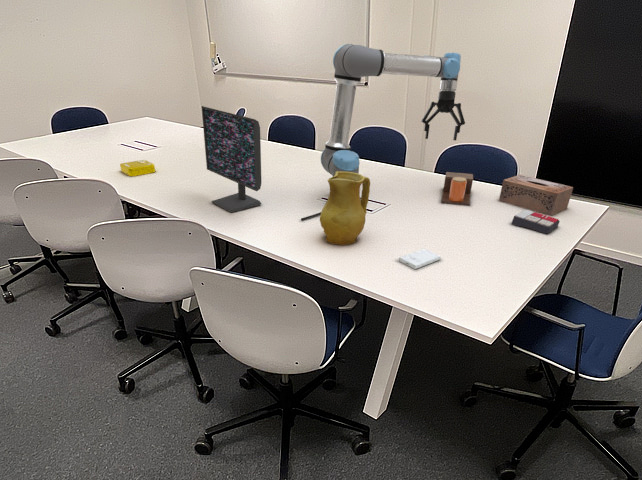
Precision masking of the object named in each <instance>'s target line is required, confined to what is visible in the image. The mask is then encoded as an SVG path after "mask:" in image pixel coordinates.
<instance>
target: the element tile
mask: <svg viewBox="0 0 642 480" xmlns="http://www.w3.org/2000/svg"><path fill="white" fill-rule="evenodd" d="M119 167H120V170H121V173H123V174H125V175H127V176H129V177H137V176H143V175H148V174H153V173H155V172H156V167H155V163H152V162H150V161H148V160H146V159H139V160H134V161H129V162H122V163H120V164H119Z"/></svg>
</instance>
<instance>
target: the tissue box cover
mask: <svg viewBox="0 0 642 480" xmlns="http://www.w3.org/2000/svg"><path fill="white" fill-rule="evenodd" d="M573 191H574V187H573V186H570V185H565V184H562V183H558V182H552V181H548V180H545V179H540V178H536V177H533V176H528V175H522V174H517V175H514V176H512V177H508V178H505V179H503V180H502V184H501V189H500V193H499V198H498V202H501V203H506V204H509V205H512V206H516V207H519V208H523V209H525V210H529V211H532V212H537V213H540V214H543V215H546V216H550V217H553V216H554V215H556V214H559V213H561V212H562V211H565V210H567V209H568V207H569V203H570V201H571V197H572V194H573Z"/></svg>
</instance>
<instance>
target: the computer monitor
mask: <svg viewBox="0 0 642 480" xmlns="http://www.w3.org/2000/svg"><path fill="white" fill-rule="evenodd" d="M201 117H202V129H203V140H204V153H205V163H206V164H205V165H206V170H207V171H209V172H211V173H214V174H216V175H218V176H221V177H223V178H225V179H228V180H230V181H232V182H234V183H236V184H237V192H236V193H233V194H229V195H227V196H223V197H220V198H216V199H214V200H211V203H212V204H214V205H216V206H218V207H220V208H222V209H223V210H226V211H227V212H229V213H236V212H240V211H245V210H247V209H251V208H255V207H258V206H261V205H262V202H261V201H260V200H259V199H256V198H255V197H252V196H251V195H248V194H246V188H248V189H249V190H252V191H255V192H258V191H259V190H260V189H261V186H262V150H261V148H262V147H261V126H260V122H259V120H256V119H255V118H252V117H248V116H243V115H239V114H235V113H232V112H229V111H224V110H219V109H215V108H212V107H207V106H203V105H201Z"/></svg>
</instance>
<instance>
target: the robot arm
mask: <svg viewBox="0 0 642 480" xmlns="http://www.w3.org/2000/svg"><path fill="white" fill-rule="evenodd" d="M461 58H462V56H461V54H460V53H459V52H445V53H444V55H443V56H434V55H417V54H416V55H415V54H404V53H393V52H391V53H390V52H385V51H384V50H383V49H377V48H372V47H369V46H365V45H361V44H353V43H346V44H343V45H341V46H339V47H338V48H337V49H336V51H335V52H334V53H333V58H332V64H333V67H334V75H333V79H334V80H335V82H336V87H335V95H334V102H333V110H332V118H331V124H330V133H329V140H328V141H326V142H325V146H324V149H323V150H322V151H321V154H320V164H321V166H322V168H323V169H324V171H326V172H327V173H328V174H330V175H331V177H334V176H335V172H336V171H338V172H342V171H343V172H353V173H358V174H360V163H361V162H360V156H359V154H358V153H356V152H355V151H352V150H351V144H349V138H350V137H349V136H350V135H349V134H350V131H351V125H352V118H353V111H354V110H353V109H354V104H355V98H356V91H357V86H358V85H359V84H361V81H362V78H363V77H381V75H396V76H413V77H428V78H429V77H432V78H440V84H439V92H438V96H437V98H438V99H437V102H436V101H431V102H430V104H429V107H428V109H427V111H426V112H425V114H424V115H423V117H422V119H421V121H420V122H421V123H422V124H424V129H423V131H424V132H425V140H428V139H429V134H430V126H431V125H430V124H429V123H430V122H431V121H432V120H433V119H434V118H435V117H437V115H438V114H439V113H443V114H444V113H445V114H448V113H449V114H450V116H451V117H452V119H453V120H454V122H455V124H456V125H455V127H454V133H453V139H452V141H457V138H458V134H460V132H461V127H462V126H463V125H465V124H466V121H465V117H464V114H463V111H462V103H461V102H457V103H455V99H456V93H457V92H456V91H457V86H458V79H459V73H460V71H461ZM435 107H436V108H437V109H436V110H435V111H434V112H433V113H432V114H431V112H432V110H433V108H435ZM454 108H455V109H456V111H457V114H458V117H459V118H458V117H457V115H456V113H455V111H454ZM430 114H431V115H430ZM429 115H430V116H429ZM360 200H361V198H360ZM321 212H322V211H320V212H317V213H315V214H311V215H307V216H304V217H302V218H301V219H300V220H301V221H304V220H308V219H312V218H314V217H318V216H320V215H321Z"/></svg>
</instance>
